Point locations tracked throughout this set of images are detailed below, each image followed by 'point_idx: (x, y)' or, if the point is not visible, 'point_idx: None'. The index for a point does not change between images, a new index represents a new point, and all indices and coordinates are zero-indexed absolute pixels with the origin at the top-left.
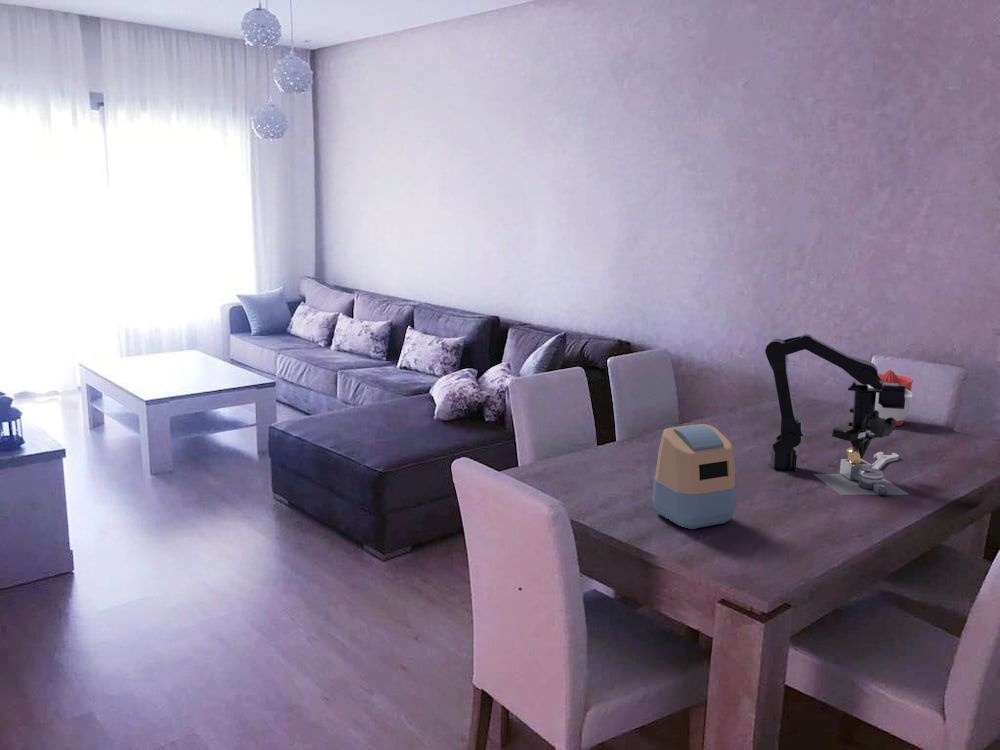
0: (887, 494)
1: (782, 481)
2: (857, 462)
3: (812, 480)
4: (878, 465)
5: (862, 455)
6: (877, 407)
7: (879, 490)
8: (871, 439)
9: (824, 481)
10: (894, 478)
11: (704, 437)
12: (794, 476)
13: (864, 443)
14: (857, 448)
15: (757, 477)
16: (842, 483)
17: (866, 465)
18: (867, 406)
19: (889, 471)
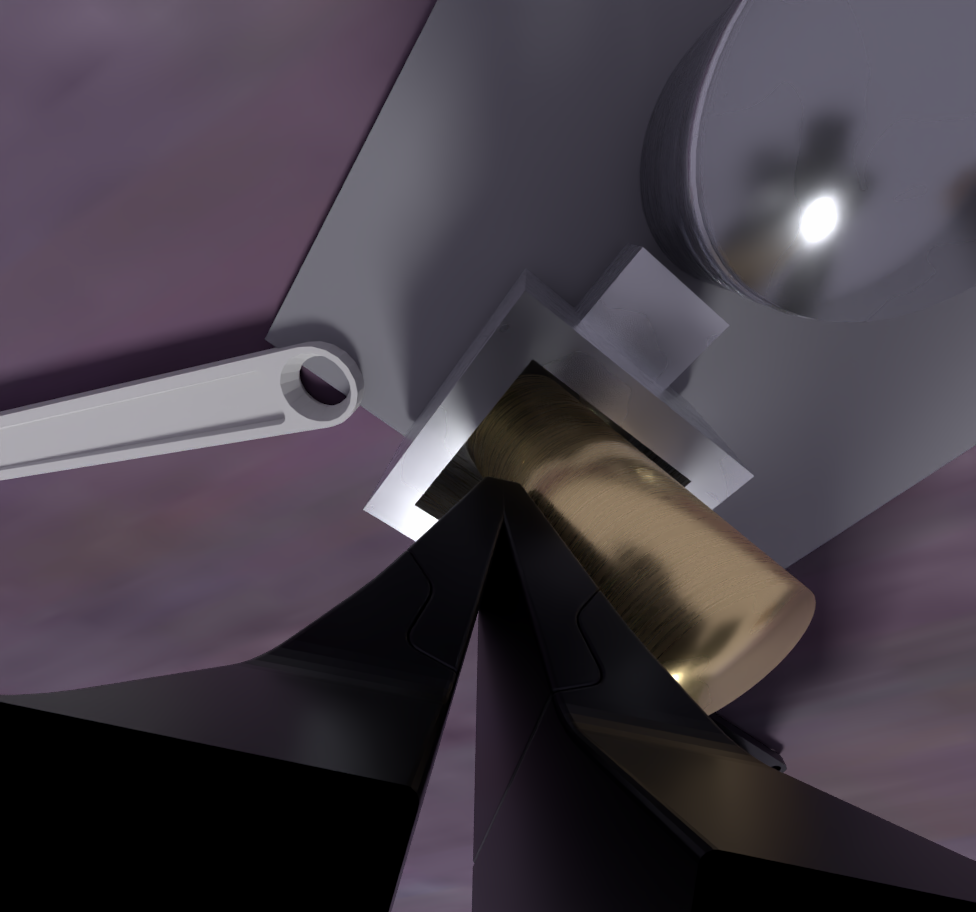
0: None
1: (970, 686)
2: (651, 460)
3: (825, 588)
4: (91, 416)
5: (507, 499)
6: None
7: None
8: (332, 725)
9: (838, 525)
10: (208, 143)
11: None
12: (800, 679)
13: (566, 686)
14: (679, 647)
15: (956, 777)
16: (803, 410)
17: (597, 345)
18: None
19: (81, 299)
